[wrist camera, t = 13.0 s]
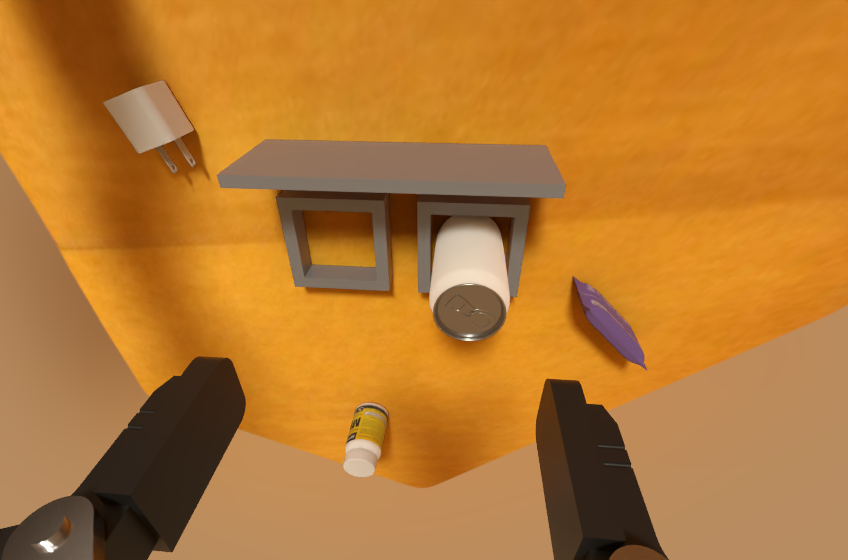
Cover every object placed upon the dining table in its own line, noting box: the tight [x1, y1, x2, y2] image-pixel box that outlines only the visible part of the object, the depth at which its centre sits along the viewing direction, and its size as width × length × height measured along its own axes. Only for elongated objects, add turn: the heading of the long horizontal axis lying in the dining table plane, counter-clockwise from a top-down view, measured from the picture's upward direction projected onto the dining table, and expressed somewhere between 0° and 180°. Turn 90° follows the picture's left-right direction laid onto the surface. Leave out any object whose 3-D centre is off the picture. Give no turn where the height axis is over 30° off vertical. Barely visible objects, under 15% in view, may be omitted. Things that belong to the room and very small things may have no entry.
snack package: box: [573, 277, 647, 370], centre depth 44 cm, size 12×2×5 cm, turn 45°
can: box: [429, 215, 510, 341], centre depth 37 cm, size 6×6×12 cm
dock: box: [217, 139, 566, 297], centre depth 38 cm, size 25×14×9 cm, turn 90°
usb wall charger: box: [103, 80, 196, 173], centre depth 37 cm, size 4×7×4 cm, turn 19°
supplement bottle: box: [343, 403, 388, 477], centre depth 55 cm, size 5×5×8 cm
